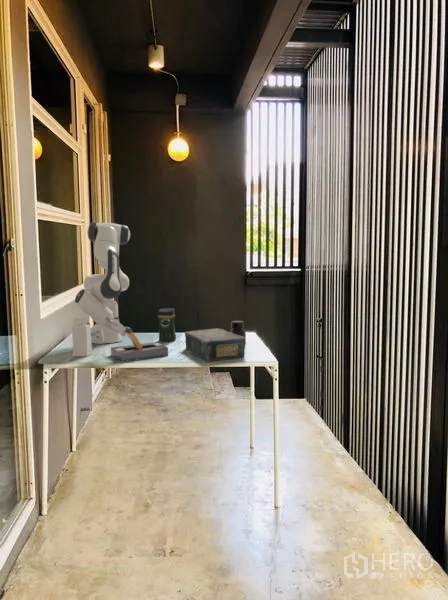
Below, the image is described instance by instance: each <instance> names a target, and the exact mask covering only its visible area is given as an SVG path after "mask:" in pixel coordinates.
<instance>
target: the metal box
mask: <svg viewBox="0 0 448 600" xmlns="http://www.w3.org/2000/svg"><path fill="white" fill-rule="evenodd" d="M184 335H185V350H187V351H189V352H191V353H193V354H194V355H196V356H197V357H199V358H201V359H203V360H204V361H206V362H214V361H215V360H216V361H223V359H225V360H233V359H239V357H240V358H243V357H245V354H246V353H245V351H246V350H245V349H246V345H245V344H246V342H245V338H244V337H243V336H239V335H236V334H233V333H232V332H230V331H227V330H225V329H223V328H217V327H216V328H207V329H198V330H197V329H196V330H190V331H185V332H184ZM232 358H233V359H232Z"/></svg>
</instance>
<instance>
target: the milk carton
mask: <svg viewBox="0 0 448 600" xmlns="http://www.w3.org/2000/svg"><path fill="white" fill-rule="evenodd" d="M91 328H92V326H91V322H90V321H89V318H88V317H73V322H72V326H71V333H72V350H73V351H72V352H73V353H72V354H73V357H88V356H90V355H91V354H92V353H93V351H92V343H91Z"/></svg>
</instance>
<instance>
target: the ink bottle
mask: <svg viewBox="0 0 448 600" xmlns="http://www.w3.org/2000/svg"><path fill="white" fill-rule="evenodd" d="M230 323H231V324H230V325H231V329H230V331H229V332H232V333H233V334H236V335H239V336H243V337H244V338H245V343H246V342H247V341H246V340H247V339H246V337H247V335H246V333H247V332H246V330H245V329H244V326H245V325H244V321H243V320H231V322H230Z"/></svg>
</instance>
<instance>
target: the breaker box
mask: <svg viewBox="0 0 448 600" xmlns="http://www.w3.org/2000/svg"><path fill="white" fill-rule="evenodd" d="M140 344H141V345H142V348H141V349H137V348H136V347H135V346H134V344H129V345H122V346H114V347H110V356H111V357H112V358H114V357H115V358H114V359H116V358H117V359H116V360H117V361H119V360H120V361H119V362H121V361H125V362H128V361H127V360H132V361H137V360H136V359H139V360H144V359H151V358H152V359H153V358H158V357H167V356H169V347H168V346H165V345H164V344H162V343H160V342H156V341H155V342H147V343H146V342H145V343H140Z"/></svg>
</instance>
